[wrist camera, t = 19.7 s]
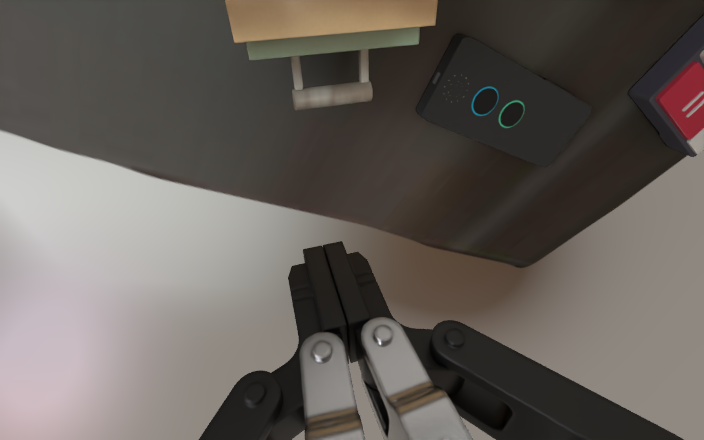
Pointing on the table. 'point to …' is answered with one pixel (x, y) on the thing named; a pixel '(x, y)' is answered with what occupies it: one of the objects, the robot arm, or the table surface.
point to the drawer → (331, 44)
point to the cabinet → (323, 17)
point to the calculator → (677, 93)
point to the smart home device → (501, 103)
